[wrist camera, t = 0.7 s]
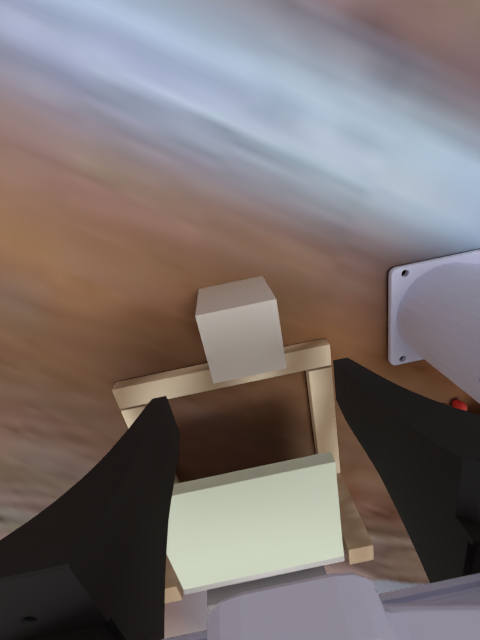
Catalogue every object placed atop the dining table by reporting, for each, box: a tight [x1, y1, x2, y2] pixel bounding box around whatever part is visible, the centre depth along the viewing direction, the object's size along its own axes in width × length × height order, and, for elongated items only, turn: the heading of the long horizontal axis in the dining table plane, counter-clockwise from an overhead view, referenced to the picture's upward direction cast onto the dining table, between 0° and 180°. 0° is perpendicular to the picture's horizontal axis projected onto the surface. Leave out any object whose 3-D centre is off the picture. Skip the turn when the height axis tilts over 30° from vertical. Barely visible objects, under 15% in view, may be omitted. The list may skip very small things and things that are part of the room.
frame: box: [112, 338, 373, 603], centre depth 24 cm, size 16×20×7 cm
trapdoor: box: [166, 451, 345, 611], centre depth 22 cm, size 12×13×2 cm
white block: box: [195, 276, 287, 384], centre depth 20 cm, size 4×4×5 cm
